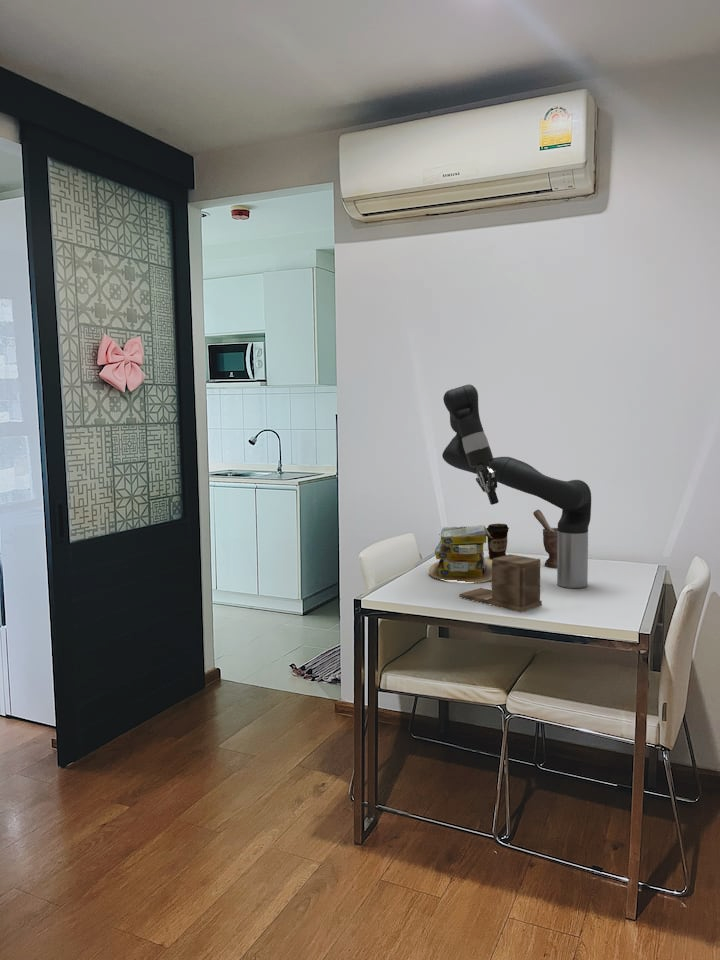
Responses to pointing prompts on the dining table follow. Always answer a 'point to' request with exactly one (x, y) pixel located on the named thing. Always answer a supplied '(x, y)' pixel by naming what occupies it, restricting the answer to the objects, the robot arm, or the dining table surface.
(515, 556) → the walnut socket base
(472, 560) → the stacked packages on board
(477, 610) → the dining table surface
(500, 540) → the coffee cup
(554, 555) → the mortar and pestle
